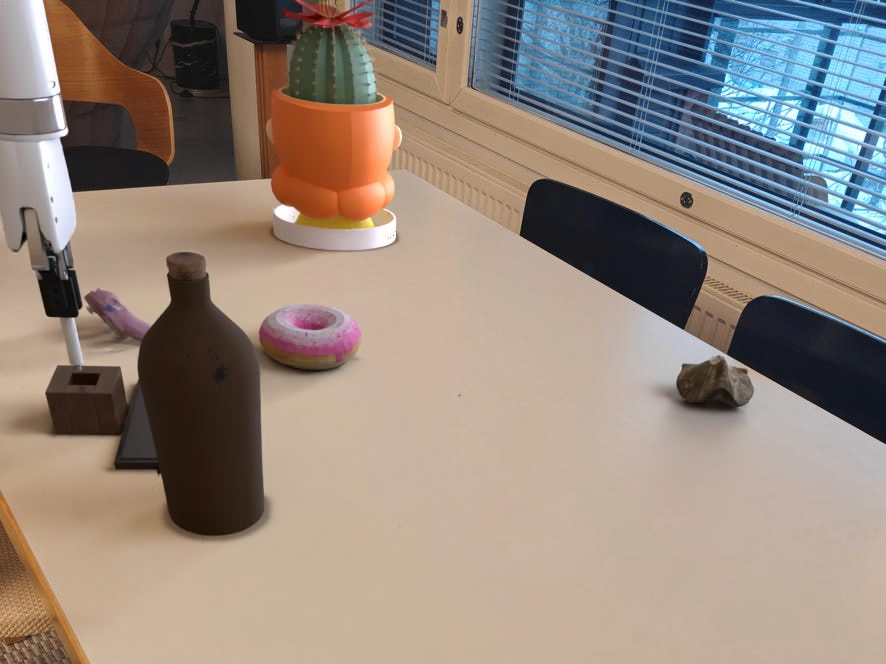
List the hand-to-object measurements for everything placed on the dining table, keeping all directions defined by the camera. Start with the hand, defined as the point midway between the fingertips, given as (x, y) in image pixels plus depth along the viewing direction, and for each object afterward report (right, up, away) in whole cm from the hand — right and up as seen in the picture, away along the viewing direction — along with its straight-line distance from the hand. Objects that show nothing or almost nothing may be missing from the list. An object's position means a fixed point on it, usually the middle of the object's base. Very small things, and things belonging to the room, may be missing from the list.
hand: (64, 311), depth 94 cm
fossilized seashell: (+75, -2, +27) cm, 80 cm away
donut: (+21, +4, +27) cm, 34 cm away
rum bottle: (+17, -22, -3) cm, 28 cm away
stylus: (-1, -5, +4) cm, 7 cm away
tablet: (+9, -10, +9) cm, 16 cm away
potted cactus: (+19, +36, +63) cm, 75 cm away
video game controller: (-4, +6, +26) cm, 27 cm away
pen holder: (-1, -9, +8) cm, 13 cm away
